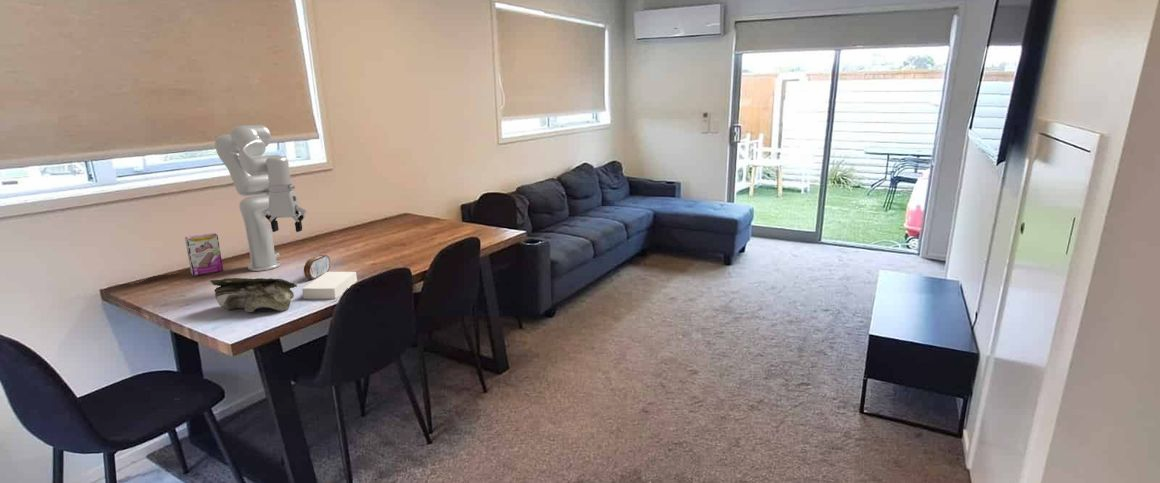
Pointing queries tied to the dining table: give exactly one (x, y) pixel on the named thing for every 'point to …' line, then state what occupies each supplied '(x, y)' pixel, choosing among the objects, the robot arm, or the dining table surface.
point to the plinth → (329, 285)
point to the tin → (316, 266)
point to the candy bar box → (204, 254)
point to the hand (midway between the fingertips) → (287, 231)
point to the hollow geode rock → (253, 293)
